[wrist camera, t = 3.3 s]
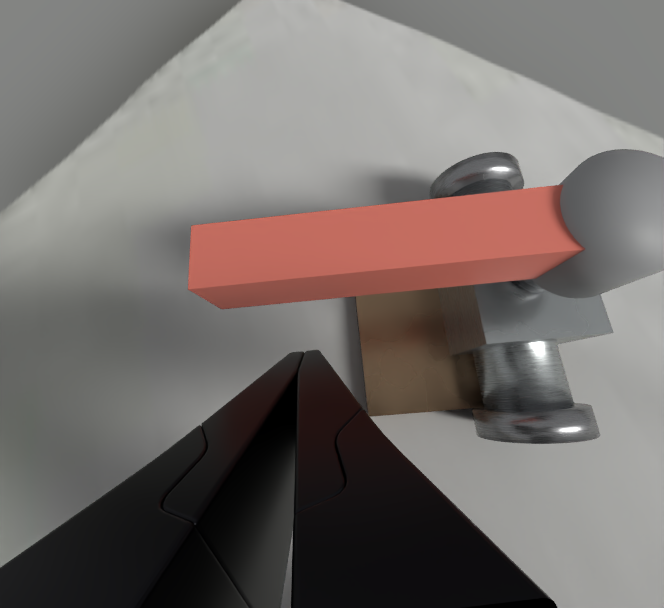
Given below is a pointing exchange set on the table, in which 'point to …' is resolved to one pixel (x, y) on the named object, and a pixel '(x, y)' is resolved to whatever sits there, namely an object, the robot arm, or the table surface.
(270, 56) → the table surface
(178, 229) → the table surface
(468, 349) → the valve
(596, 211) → the lever
